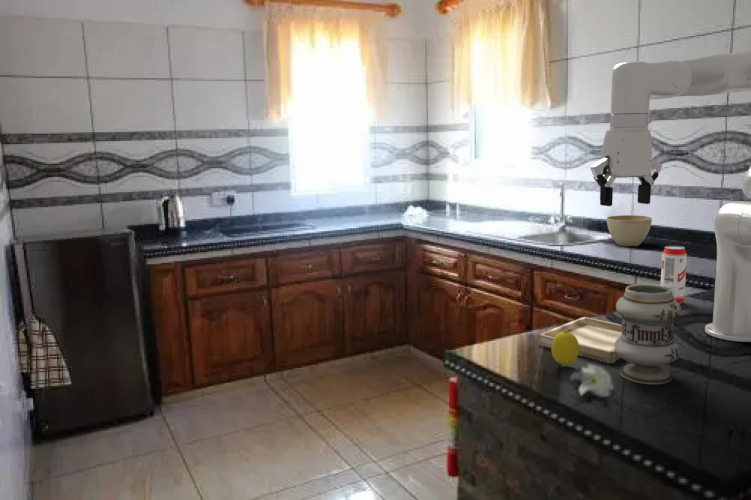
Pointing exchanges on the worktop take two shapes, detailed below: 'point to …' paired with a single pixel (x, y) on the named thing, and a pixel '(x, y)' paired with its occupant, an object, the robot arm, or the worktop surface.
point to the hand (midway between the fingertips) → (625, 204)
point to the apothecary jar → (647, 333)
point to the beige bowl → (629, 229)
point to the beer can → (674, 271)
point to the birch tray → (589, 338)
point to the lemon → (565, 348)
